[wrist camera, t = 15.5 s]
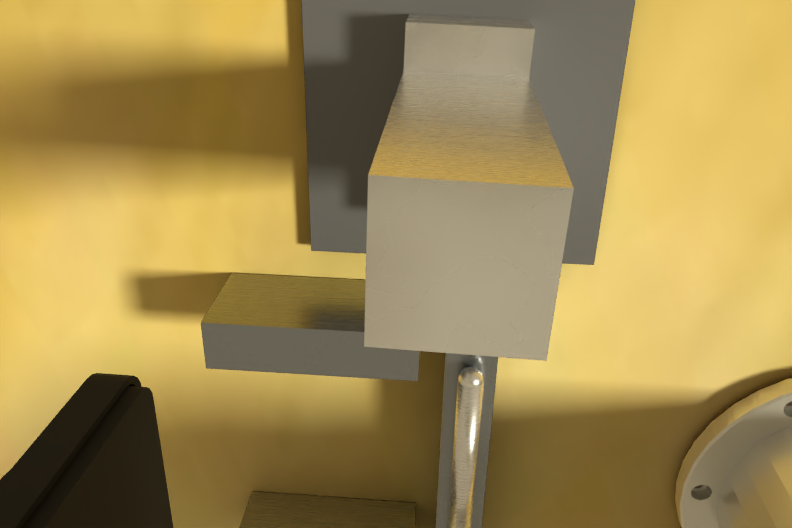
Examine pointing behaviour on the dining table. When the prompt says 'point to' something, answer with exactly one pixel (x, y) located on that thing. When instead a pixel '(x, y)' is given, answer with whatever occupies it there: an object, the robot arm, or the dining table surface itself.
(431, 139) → the steel post
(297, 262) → the dining table surface
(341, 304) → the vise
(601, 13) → the mat
